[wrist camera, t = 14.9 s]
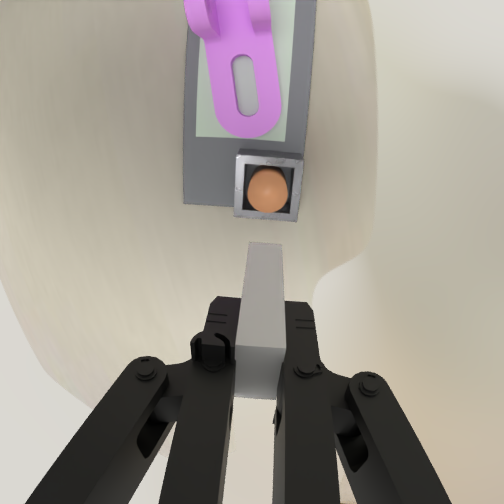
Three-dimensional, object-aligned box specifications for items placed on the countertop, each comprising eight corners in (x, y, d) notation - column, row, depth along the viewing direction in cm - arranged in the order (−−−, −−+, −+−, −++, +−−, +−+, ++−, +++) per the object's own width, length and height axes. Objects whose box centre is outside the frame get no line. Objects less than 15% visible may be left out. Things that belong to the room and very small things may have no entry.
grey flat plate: (192, -8, 21) (190, -10, 21) (315, -4, 21) (316, -5, 20) (184, 202, 31) (183, 204, 31) (296, 210, 31) (297, 212, 30)
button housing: (239, 148, 28) (236, 154, 25) (301, 153, 28) (304, 160, 25) (237, 204, 31) (233, 216, 28) (294, 209, 30) (296, 221, 28)
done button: (251, 162, 28) (248, 173, 25) (287, 165, 28) (289, 176, 25) (249, 195, 30) (246, 211, 26) (284, 198, 30) (285, 214, 26)
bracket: (202, 6, 21) (181, -16, 15) (265, -4, 21) (263, -31, 15) (222, 139, 27) (207, 154, 21) (284, 132, 27) (288, 145, 21)
